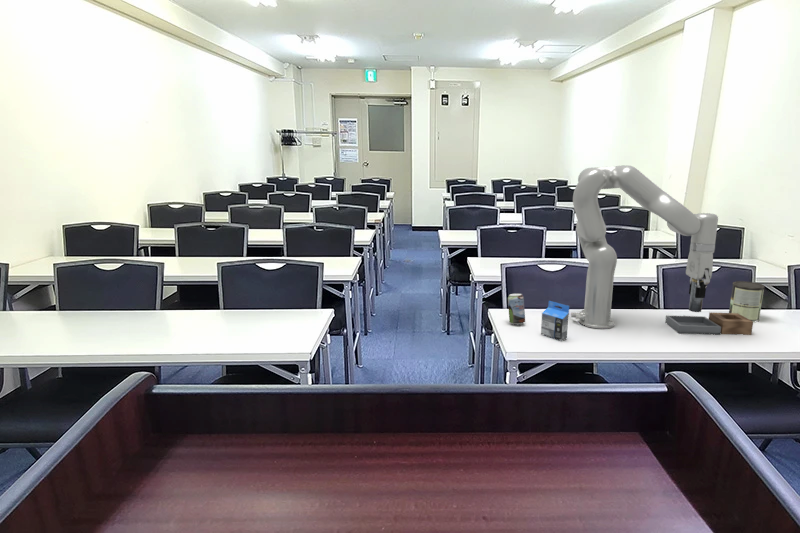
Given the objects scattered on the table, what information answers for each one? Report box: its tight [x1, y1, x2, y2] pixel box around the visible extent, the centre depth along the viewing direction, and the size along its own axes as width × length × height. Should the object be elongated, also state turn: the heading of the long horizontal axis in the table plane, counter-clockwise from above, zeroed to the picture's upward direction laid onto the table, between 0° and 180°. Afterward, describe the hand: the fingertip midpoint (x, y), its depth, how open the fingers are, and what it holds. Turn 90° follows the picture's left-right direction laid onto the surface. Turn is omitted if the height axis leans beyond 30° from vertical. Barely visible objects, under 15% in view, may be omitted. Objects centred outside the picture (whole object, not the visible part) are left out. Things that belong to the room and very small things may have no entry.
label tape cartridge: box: [540, 300, 570, 342], centre depth 171 cm, size 9×4×12 cm, turn 37°
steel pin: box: [688, 278, 704, 313], centre depth 176 cm, size 4×4×12 cm
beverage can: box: [507, 293, 526, 325], centre depth 185 cm, size 6×7×12 cm
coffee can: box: [728, 280, 766, 323], centre depth 189 cm, size 10×10×14 cm
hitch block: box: [708, 311, 754, 336], centre depth 177 cm, size 10×10×5 cm
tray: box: [665, 314, 721, 336], centre depth 179 cm, size 14×12×3 cm
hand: (696, 295), depth 176 cm, fingers closed on steel pin, 4 cm apart
